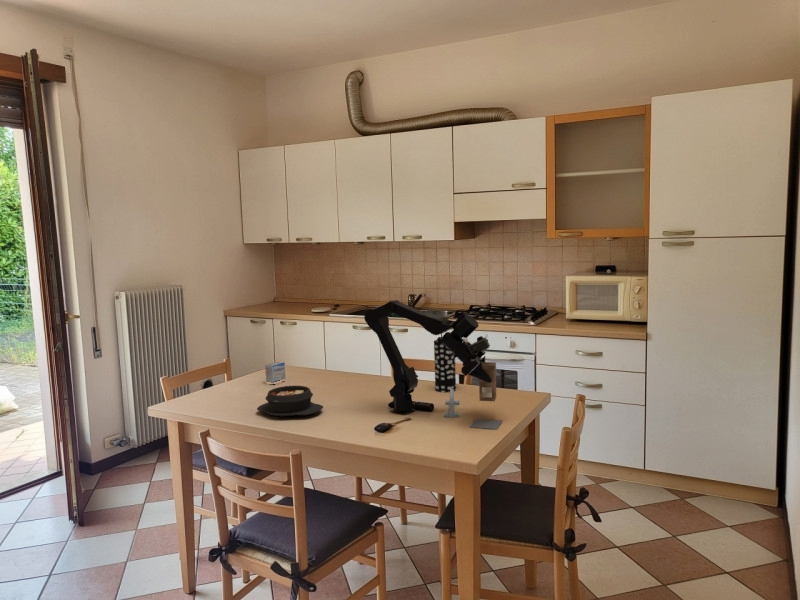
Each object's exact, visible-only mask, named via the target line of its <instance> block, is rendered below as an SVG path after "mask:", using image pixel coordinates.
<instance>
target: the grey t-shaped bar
mask: <svg viewBox="0 0 800 600" xmlns="http://www.w3.org/2000/svg"><path fill="white" fill-rule="evenodd" d="M454 392H455V391H454V389H450V392H449V400H445V406H447V405H448V406H449V408H448V409H449V412H444V414H443V418H459V417H460V412H454V409H455V408H454V407H455V406H456V405H460V400H455V393H454ZM454 405H455V406H454Z"/></svg>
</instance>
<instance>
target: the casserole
mask: <svg viewBox="0 0 800 600" xmlns="http://www.w3.org/2000/svg"><path fill="white" fill-rule="evenodd" d="M313 395H314V393H313V392H312V391H311V388H310V387H308V386H305V385H287V386H279V387H276V388H275V387H274V388H272V389H270V390H269V391H268V392H267V395H266V397H265V401H266V402H265V403H263V404H261V405H259V406H258V407H257V408H256V410H257V411H259V412H263V413H265V414H268V415H271V416H276V417H279V416H294V415H298V416H308V415H312V414H316V413H318V412H320V411H322V410H323V409H324V406H323V405H322V404H318V403H315V402H312V397H313ZM294 417H295V416H294Z"/></svg>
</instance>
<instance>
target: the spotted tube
mask: <svg viewBox="0 0 800 600" xmlns="http://www.w3.org/2000/svg"><path fill="white" fill-rule="evenodd" d="M433 350H434V352H433V358H434V384H435V386H434V390H435V391H436V392H439V393H450V389H454V392H455V391H457V382H456V381H457V380H456V379H457V377H456V375H457V374H456V358H455V357H454V354H453V353H452V352H451V351H450V350H449V349H448V348H447V347H446V346H445V345H444V344H443V343H442V344H441V345H440V346H439V347H438V346H437V339H435V340H433Z"/></svg>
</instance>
